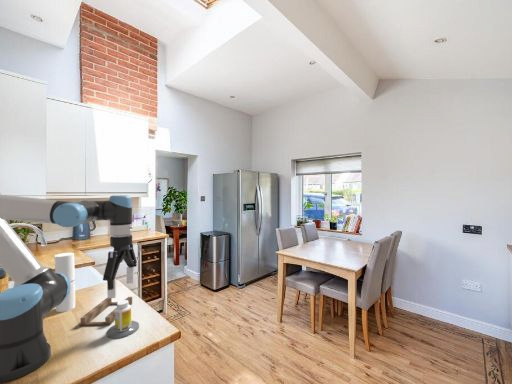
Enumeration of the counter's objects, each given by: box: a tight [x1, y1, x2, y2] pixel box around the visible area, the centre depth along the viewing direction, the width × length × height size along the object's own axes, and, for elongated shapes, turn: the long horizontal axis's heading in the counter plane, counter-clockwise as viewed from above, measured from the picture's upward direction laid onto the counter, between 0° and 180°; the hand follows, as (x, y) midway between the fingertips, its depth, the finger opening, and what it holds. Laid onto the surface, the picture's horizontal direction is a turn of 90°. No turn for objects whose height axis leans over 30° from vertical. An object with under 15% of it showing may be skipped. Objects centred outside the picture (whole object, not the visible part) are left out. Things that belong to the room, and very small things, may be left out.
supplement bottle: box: [114, 299, 132, 332], centre depth 95 cm, size 6×6×10 cm
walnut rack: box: [79, 296, 133, 327], centre depth 108 cm, size 19×12×3 cm, turn 1°
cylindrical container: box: [54, 252, 76, 313], centre depth 114 cm, size 7×7×25 cm
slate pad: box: [106, 320, 140, 339], centre depth 96 cm, size 11×11×1 cm
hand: (121, 289), depth 95 cm, fingers open, 13 cm apart
